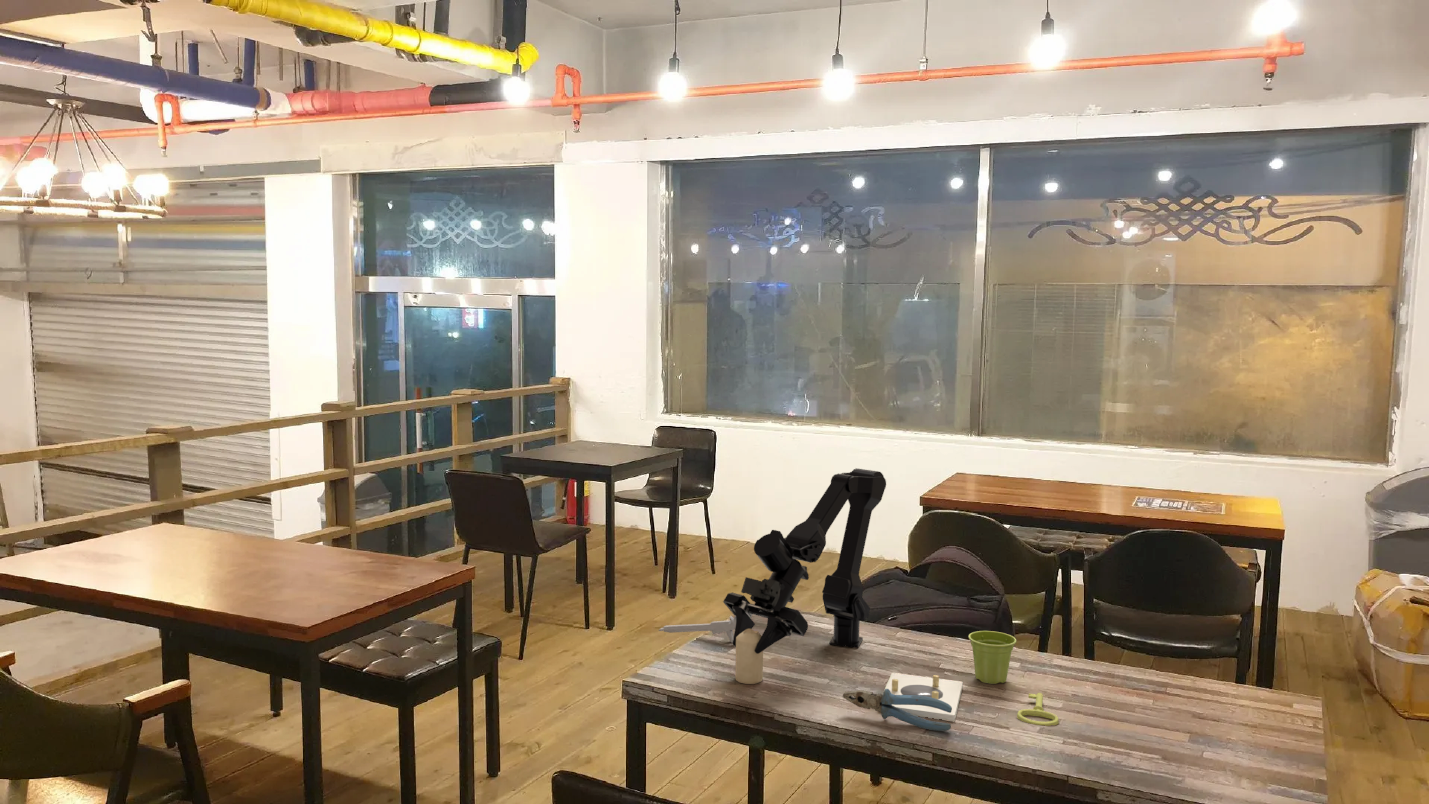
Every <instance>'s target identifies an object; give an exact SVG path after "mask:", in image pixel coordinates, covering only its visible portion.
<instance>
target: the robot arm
mask: <svg viewBox="0 0 1429 804" xmlns="http://www.w3.org/2000/svg"><path fill="white" fill-rule="evenodd" d="M830 479H831V480H830V484H829V486H828V487H827V488H826V490H825V491H824V493H823V495H822V496H821V497H820V499H819V501H818V502H817V504H816V505H815V507H814V508H813V510H812V512H810V514H809V516H808V517H807V518H806V519H805V520H804V521H802V522H801V523H799V524H796V525H795V526H794V527H793V528H792V529H791V531H789V533H788V534H787V535H786V536H785V537H784V535H783V533H782V532H781V531H780V530H776V529H771V531H770V533H768V534H765V535H762V536H761V537H759V538H758V539H757V540H756V541H755V544H754V546H753V551H754V553H755V555H756V557H757V558H758V559H759V560H760V561H761V563H762V564H763V565H764V567H766V569H767V570H768V571H769V572H771V575H770V577H769V578H768V579H767V578H764V579H762V580H758V579H754V578H750V577H745V578H744V582H743V585H742V588H741V591H740V592H741V593H742V594H739V593H736V592H728V593H727V595H726V596H725V597H724V598H723V601H722V602H723V604H724V605H725V606H726V607H727V608H728V609H729V611H730V612H731V613H732V614H733V616H734V617H735V616H736V627H735V629H734V632H733V635H734V638H733V643H732V646H733V647H735V648H736V637H737V636H738V635H739V634H740V633H742V632H743V631H744V630H746V629H752V630H753V629H754V627H755V626H756V623H755V622H754V621H753V619H752V618H753V615H754V616H758V617H761V618H765V619H767V622H766V623H767V624H766V627H765V629H764V631H763V632H762V634H761V638H760V640H759V642H758V644H757V646H756V648H755V652H756V653H757V654H759V653H760V652H762V651H763V652H764V651H765V650H766V649H768V648H770V647H771V646H772V645H774V644H775V643H777V642H779V641H781V640H782V639H784V638H785V637H791V635H792V634H794V635H797V636H801V637H804V636H805V635H806V633H807V631H808V630H809V624H808V623H809V622H808V621H807V620H806V619H805V617H804V616H803V615H802V613H801V612H800V611H799V610H798V609H795V608H791V607H789V606H788V607H787V604H788V603H791V604H793V602H794V601H795V597H794V596H793V594H794V592H795V590H796V588H797V587H798V585H799V583H800V581H801V580H805V581H808V580H809V578H810V576H809V575H810V574H809V573H808V566H806V565H803V564H802V563H801V562H800V561H802V562H807V563H816V562H817V561H819V559H820V557H821V555H822V553H823V551H824V549H825V547H826V544H827V539H826V537H827V536H826V535H827V533H828V531H829V529H830V528H831V527H832V525H833V523H834V521H836V518H837V517H838V515H839V514H840V512H841V510H842V509H843V508H844V506H845V504H846V503H847V501H848V504H849V510H848V515H847V519H846V524H845V529H844V534H843V540H842V543H841V547H840V552H839V557H838V562H837V567H836V570H834V571H833V573H831V574H827V575H826V576H825V578H824V586H823V589H822V591H821V593H822V601H823V606H824V609H825V614H828V615H833V636H832V638H831V639H830V641H829V643H828V645H831V646H837V647H838V646H839V647H848V648H859V647H860V645H861V643H862V642H863V639H864V637H862V636H860V622H861V621H866V619H867V618H869V615H870V610H871V607H870V606H869V604H868V603H867V602H866V600H865V599H864V597H863V595H864V594H863V593H864V585H863V584H862V580H861V577H860V569H861V566H862V560H863V556H864V555H863V554H864V551H865V546H866V541H867V536H868V532H869V526H870V522H871V518H872V512H873V511H874V509H876V507H877V506H878V505H879V503H881V501H882V499H883V496H884V492H885V490H886V488H887V487H886V486H887V479H886V478H885V477H884V474H883V472H881V471H878V470H871V469H863V468H856V467H855V468H854V469H853V470H852V471H850V472H842V473H836V474H833V476H832V477H831V478H830ZM745 594H747V595H750V597H749V598H750V600H751V601H752V602H754V604H753V603H751V602H750V601H749V600H748V598H747V597H746V596H745Z"/></svg>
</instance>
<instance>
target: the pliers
mask: <svg viewBox="0 0 1429 804" xmlns="http://www.w3.org/2000/svg"><path fill="white" fill-rule="evenodd" d="M842 699H845V700H846V701H847V702H850V703H852V704H853V705H855V706H857V707H859V708H862V709H867V710H870V709H872V710H874V711H875V712H880V714H881V718H882V719H883V720H887V718H889V717H893V718H895V719H897V720H900V721H902V722H904V723H906V724H910V725H912V726H915V727H917V728H920V729H924V730H928V729H929V731H935V732H936V731H937V732H948V731H949V730H951V729H952V725H951V723H947V722H940V721H934V720H928V719H927V718H926V719H925V718H924V717H918V716H915V715H912V714H910V713H908V712H906V711H903V710H901V709H899V708H897V707H894V706H893V705H922V706H929V707H933V708H937V709H940V710H943V711H946V712H949V713H951V711H952V707H951V706H950V705H949V704H947V703H945V702H943V701H941V700H938V699H935V698H931V697H926V696H919V695H893V694H892V693H891V692H890V690H889V689H885V688H884V690H883V693H874V692H872V691H868V690H864V689H863V690H862V689H861V690H851V691H849V690H848V691H845V692H843V694H842Z"/></svg>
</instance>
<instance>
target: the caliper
mask: <svg viewBox="0 0 1429 804" xmlns="http://www.w3.org/2000/svg"><path fill="white" fill-rule="evenodd" d="M735 627H736V616H735V615H734V617H733V616H732V615H730V616H729V620H719V621H717V620H716V621H714V620H713V621H711V622H710V623H690V624H675V625H672V624H671V625H664V626H663V627H661V628H659V629H658V631H659V632H664V633H672V634H673V633H688V632H689V633H690V632H692V633H693V632H711V633H712V635H716V634H717V635H720V634H722V633H724V632H725V634H726V636H727V638H728V641H729V642H730V643H732V644H733V638H734V631H735Z"/></svg>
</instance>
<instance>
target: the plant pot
mask: <svg viewBox="0 0 1429 804" xmlns="http://www.w3.org/2000/svg"><path fill="white" fill-rule="evenodd" d="M968 639H969V641H970V645H971V647H972V654H973V655H972V656H973V663H974V665H973V667H974V673H975V679H976V680H979V681H980V682H982V683H984V684H990V685H995V684H996V685H997V684H999V683H1002V684H1004V683H1005V682H1007V680H1008V673H1009V667H1010V661H1011V656H1012V652H1013V650H1014V646H1015V644H1017V639H1016V638H1015V636H1013V635H1011V634H1007V633H1005V632H999V631H993V630H992V631H991V630H979V631H978V630H977V631H973V632H971V633H969V634H968Z"/></svg>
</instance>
